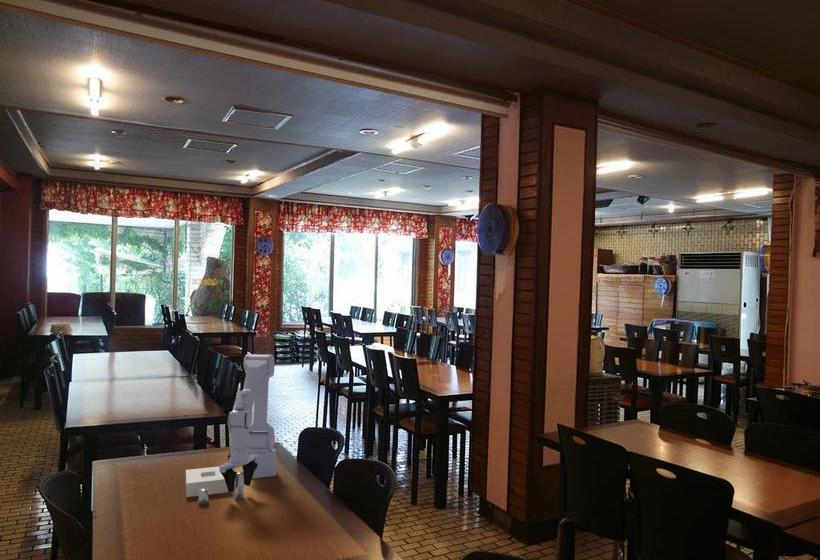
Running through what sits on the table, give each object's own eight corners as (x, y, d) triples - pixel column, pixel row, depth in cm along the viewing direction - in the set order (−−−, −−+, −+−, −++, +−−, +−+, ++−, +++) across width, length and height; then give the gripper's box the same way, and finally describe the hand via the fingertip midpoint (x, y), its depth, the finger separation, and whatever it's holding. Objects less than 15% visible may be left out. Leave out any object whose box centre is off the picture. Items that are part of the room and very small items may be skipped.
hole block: (227, 478, 208) (227, 465, 208) (231, 491, 195) (231, 478, 195) (185, 482, 203) (185, 469, 203) (186, 497, 190) (186, 483, 190)
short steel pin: (208, 499, 188) (208, 487, 188) (208, 503, 186) (208, 490, 186) (198, 501, 187) (198, 488, 187) (198, 504, 185) (198, 491, 185)
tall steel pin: (243, 495, 193) (243, 471, 192) (244, 498, 190) (244, 474, 190) (233, 496, 191) (234, 472, 191) (234, 499, 189) (234, 475, 189)
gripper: (248, 439, 199) (247, 479, 199) (213, 450, 186) (212, 492, 187) (262, 443, 195) (262, 483, 195) (228, 453, 183) (227, 497, 183)
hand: (239, 488), depth 191 cm, fingers open, 6 cm apart
